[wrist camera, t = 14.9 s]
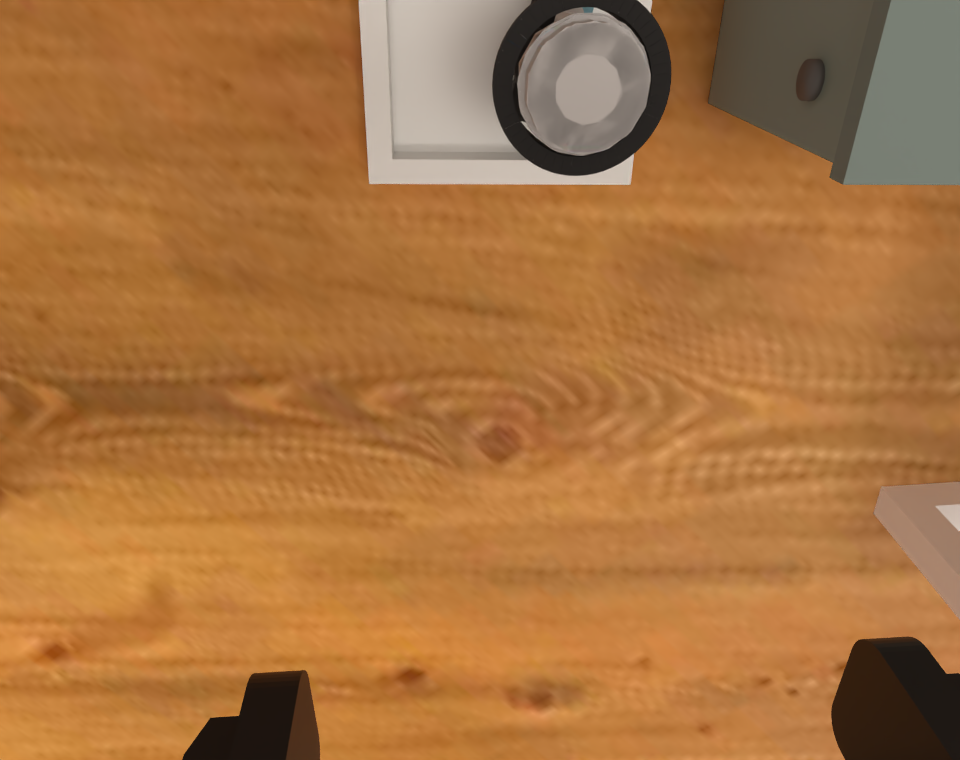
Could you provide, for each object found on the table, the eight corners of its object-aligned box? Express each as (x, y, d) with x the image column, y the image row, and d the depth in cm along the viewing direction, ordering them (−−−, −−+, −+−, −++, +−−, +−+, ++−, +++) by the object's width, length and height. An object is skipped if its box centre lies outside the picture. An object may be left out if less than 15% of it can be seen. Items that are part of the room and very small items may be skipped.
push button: (508, -76, 27) (539, -101, 18) (640, -35, 28) (730, -39, 19) (465, 106, 30) (474, 159, 21) (585, 138, 31) (641, 202, 22)
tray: (372, 172, 32) (369, 183, 30) (355, -133, 26) (350, -141, 25) (619, 173, 32) (630, 184, 31) (652, -125, 27) (667, -132, 25)
